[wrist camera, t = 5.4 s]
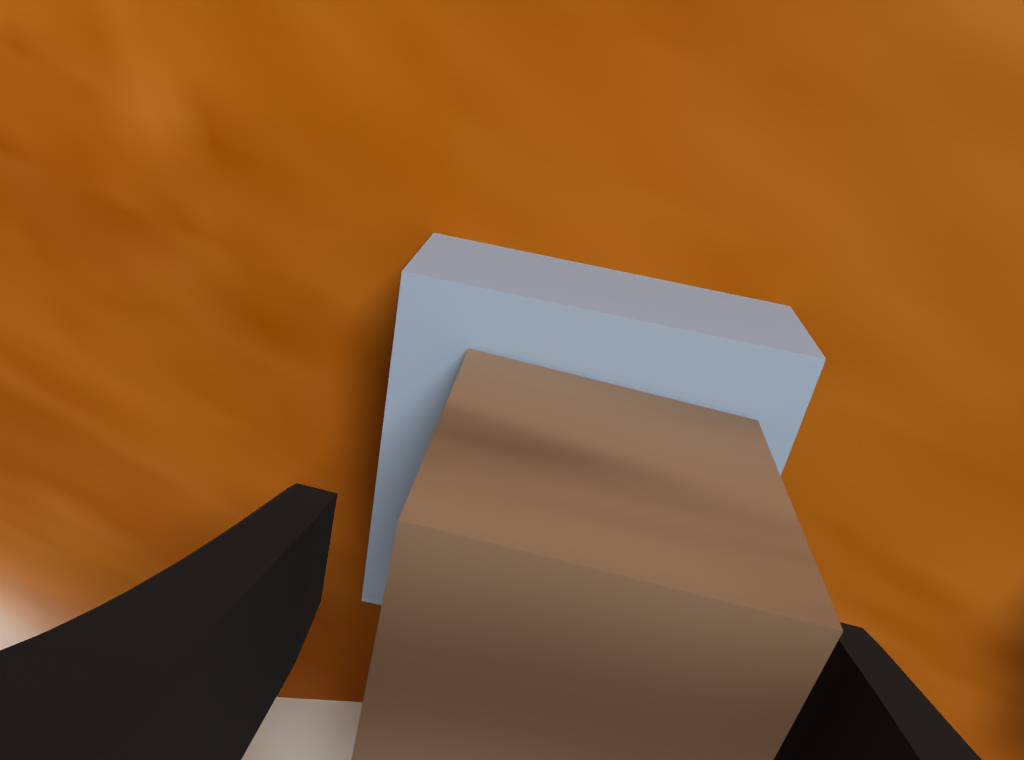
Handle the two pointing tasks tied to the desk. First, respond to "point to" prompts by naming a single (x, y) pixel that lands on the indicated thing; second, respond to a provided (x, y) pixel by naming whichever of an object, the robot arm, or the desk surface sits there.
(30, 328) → the desk surface
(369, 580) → the blue slab
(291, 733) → the cream cube
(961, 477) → the desk surface
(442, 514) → the walnut cube
